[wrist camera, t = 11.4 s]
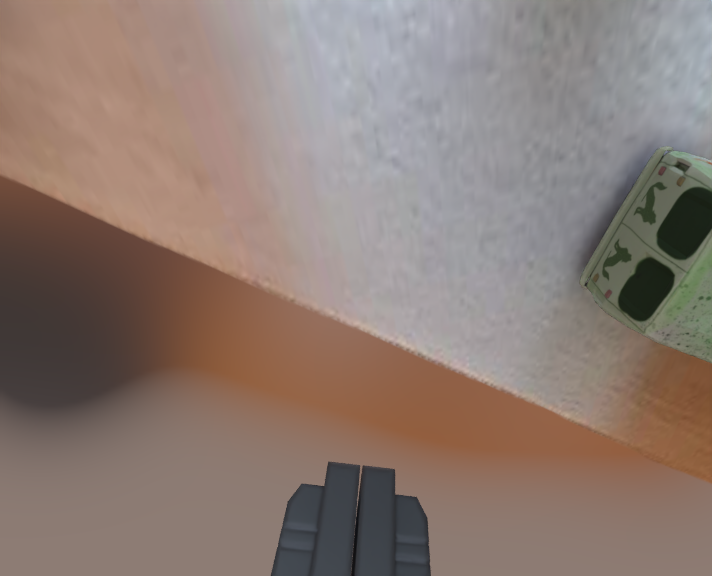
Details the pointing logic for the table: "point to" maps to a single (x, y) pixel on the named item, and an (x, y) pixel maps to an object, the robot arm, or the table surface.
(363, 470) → the robot arm
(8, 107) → the table surface
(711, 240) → the toy car
